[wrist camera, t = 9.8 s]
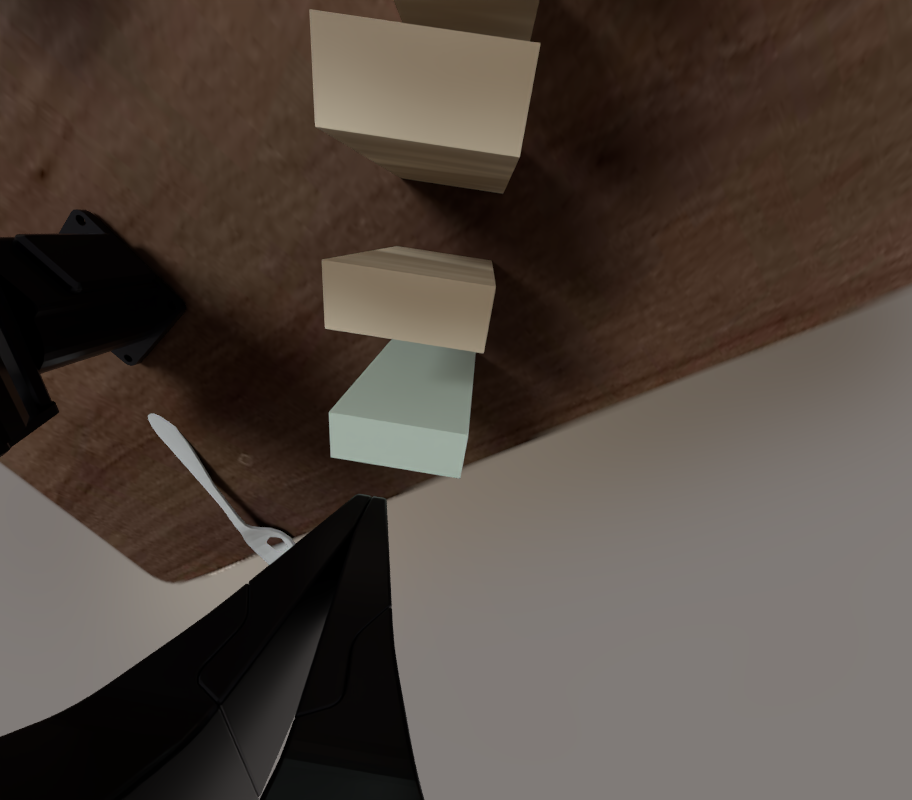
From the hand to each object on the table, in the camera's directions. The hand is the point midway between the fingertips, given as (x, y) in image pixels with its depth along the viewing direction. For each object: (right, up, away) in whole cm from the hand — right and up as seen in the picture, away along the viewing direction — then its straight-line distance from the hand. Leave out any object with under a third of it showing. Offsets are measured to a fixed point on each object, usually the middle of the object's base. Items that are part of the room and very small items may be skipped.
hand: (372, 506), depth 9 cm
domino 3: (+1, +5, +11) cm, 12 cm away
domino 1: (+2, +14, +6) cm, 16 cm away
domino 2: (+2, +10, +8) cm, 13 cm away
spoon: (-16, -4, +18) cm, 24 cm away
